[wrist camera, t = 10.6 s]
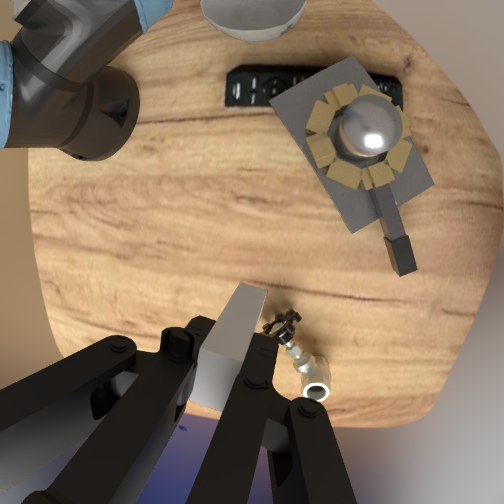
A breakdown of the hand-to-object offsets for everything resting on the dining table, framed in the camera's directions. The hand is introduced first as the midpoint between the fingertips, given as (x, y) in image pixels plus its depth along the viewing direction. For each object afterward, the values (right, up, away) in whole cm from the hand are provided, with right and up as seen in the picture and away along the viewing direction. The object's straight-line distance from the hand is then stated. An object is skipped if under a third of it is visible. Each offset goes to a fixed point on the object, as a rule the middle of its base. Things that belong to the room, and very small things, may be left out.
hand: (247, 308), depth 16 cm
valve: (+7, -10, +25) cm, 28 cm away
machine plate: (+12, +16, +17) cm, 27 cm away
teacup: (+1, +35, +16) cm, 38 cm away
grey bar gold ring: (+14, +11, +15) cm, 23 cm away
